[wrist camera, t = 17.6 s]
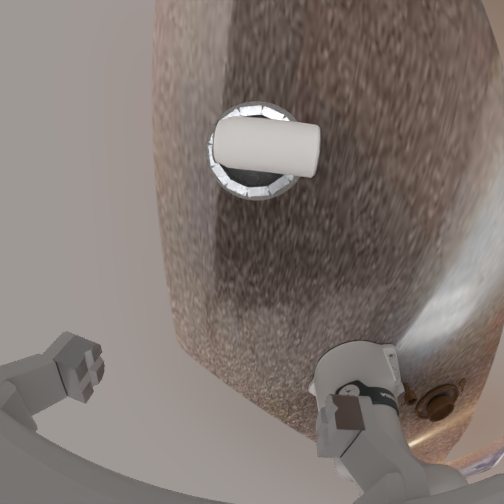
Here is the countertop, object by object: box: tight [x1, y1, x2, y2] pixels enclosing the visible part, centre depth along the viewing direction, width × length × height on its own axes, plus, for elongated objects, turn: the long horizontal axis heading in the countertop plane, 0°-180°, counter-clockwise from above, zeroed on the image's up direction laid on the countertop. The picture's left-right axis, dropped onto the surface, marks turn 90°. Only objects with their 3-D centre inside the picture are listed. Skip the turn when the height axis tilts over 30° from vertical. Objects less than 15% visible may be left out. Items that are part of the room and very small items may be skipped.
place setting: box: [401, 379, 466, 422], centre depth 51 cm, size 18×20×6 cm
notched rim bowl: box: [206, 101, 300, 200], centre depth 38 cm, size 14×14×3 cm
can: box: [212, 116, 321, 178], centre depth 34 cm, size 6×6×12 cm
